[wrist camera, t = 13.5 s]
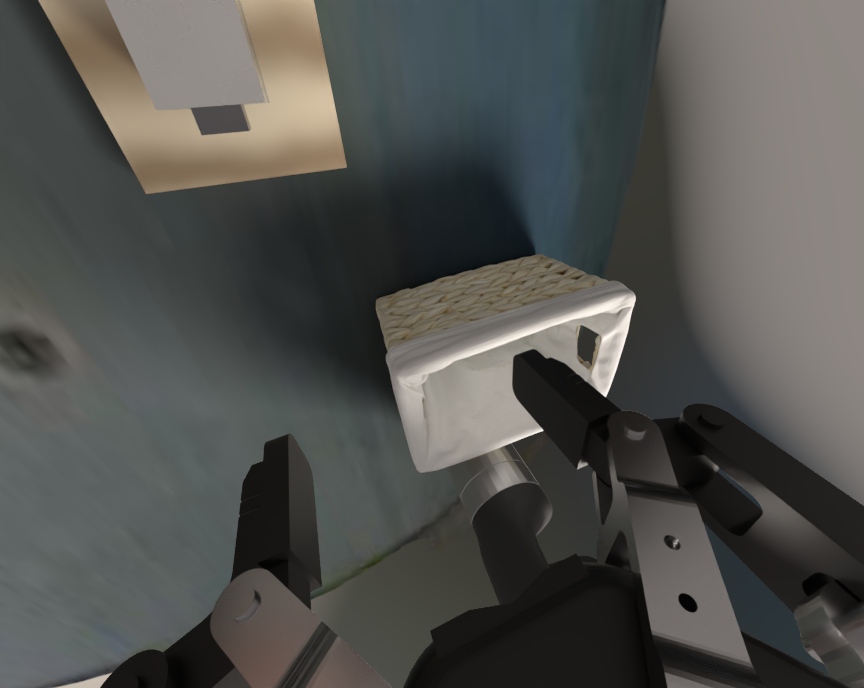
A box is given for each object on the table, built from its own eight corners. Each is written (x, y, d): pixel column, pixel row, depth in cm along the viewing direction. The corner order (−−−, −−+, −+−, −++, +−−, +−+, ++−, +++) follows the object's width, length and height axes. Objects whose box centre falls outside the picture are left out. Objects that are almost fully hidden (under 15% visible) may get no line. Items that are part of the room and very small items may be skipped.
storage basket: (386, 391, 46) (420, 485, 34) (356, 289, 36) (389, 373, 24) (536, 340, 50) (608, 407, 39) (546, 236, 40) (647, 287, 29)
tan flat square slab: (342, 162, 28) (347, 167, 26) (158, 185, 25) (146, 194, 23) (288, -99, 20) (288, -125, 18) (0, -115, 17) (-45, -150, 14)
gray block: (239, -3, 19) (222, -43, 14) (276, 123, 23) (273, 129, 18) (142, -2, 18) (83, -46, 13) (197, 130, 22) (169, 139, 17)
